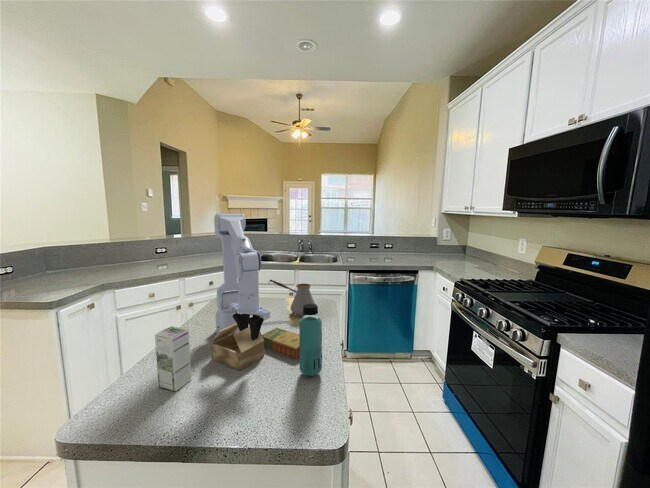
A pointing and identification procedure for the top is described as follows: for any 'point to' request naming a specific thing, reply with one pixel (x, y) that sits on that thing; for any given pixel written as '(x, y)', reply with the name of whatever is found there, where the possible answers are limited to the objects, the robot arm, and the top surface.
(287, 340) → the carton
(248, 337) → the flap
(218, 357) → the cardboard box
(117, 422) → the top surface
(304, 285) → the coffee pot
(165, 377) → the syrup box
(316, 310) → the beverage bottle
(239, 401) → the top surface
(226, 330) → the flap
